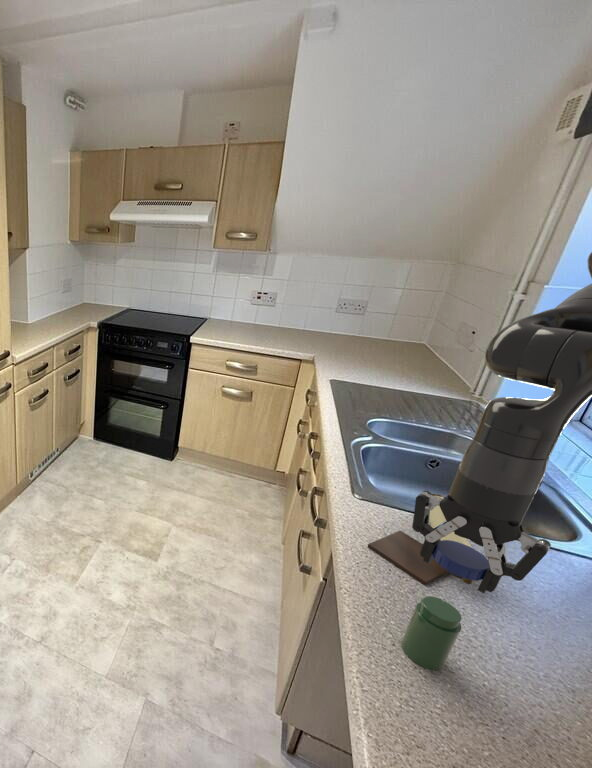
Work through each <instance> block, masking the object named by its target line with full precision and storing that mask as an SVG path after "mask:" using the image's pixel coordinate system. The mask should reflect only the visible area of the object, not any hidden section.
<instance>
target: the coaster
mask: <svg viewBox="0 0 592 768" xmlns="http://www.w3.org/2000/svg"><path fill="white" fill-rule="evenodd" d="M422 546H423V543H422V542H420V541H418V540H417V539H415V538H414V537H412V536H410V535H409V534H408V533H405V532H404V531H402V530H398V531H396V532H394V533H391V534H388V535H386V536H384V537H381V538H378V539H377V540H373V541H371V542H369V543H368V544H367V548H368V549H370V551H373V552H374V553H376V554H377V555H379V556H380V557H381V558H383V559H384V560H386V561H387V562H389V563H391V564H392V565H394V566H395V567H397V568H398V569H400V570H401V571H403V572H404V573H405V574H407V575H409V576H410V577H411V578H413V579H414V580H416V581H418V582H419V583H421V584H422V585H423V586H427V585H429V584H430V583H433V582H434V581H436V580H438V579H440V578H441V577H444V576H445V575H447V574H449V573H450V572H449V571H447V570H445V569H444V568H443V567H441V566H440V565H439V564H438V563H437V562H436V561H435V559H434V558H433V560H432V561H431V562H430V563H429V564H428V563H426V562H424V561H423V559H424V557H422V556H420V551H421V549H422Z"/></svg>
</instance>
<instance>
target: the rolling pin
mask: <svg viewBox="0 0 592 768" xmlns="http://www.w3.org/2000/svg"><path fill="white" fill-rule="evenodd" d="M431 494H432V495H433V496H436V497H440V498H445V497H446V496H443V495H441V494H437V493H431ZM444 521H446V519H445V517H444V515H443V513H442V511H441V508H440V506H436V507H435V508H434V509H433V510H430V515H429V525H430V526H431V527H433V528H435V527H437V526H439V525H440V524H442V523H443V522H444ZM454 533H455V532H452V533H450V534H448V535H447V536H445V537H442V538H441V541H442V540H451V541H456V542H459V543H462V544H465V545H467V546H470V547H472V545H471V544H470V541H469V539H467V538H463V537H460V536H458V535H456V534H454ZM449 573H450V574H451V575H453V576H454V577H455V578H457V579H462V581H463V583H465V584H466V585H471V584H472V583H473V580H469V579H465V578H462V577H459V576H457V575H455V574H452V573H451V572H449Z"/></svg>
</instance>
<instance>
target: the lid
mask: <svg viewBox="0 0 592 768" xmlns="http://www.w3.org/2000/svg"><path fill="white" fill-rule="evenodd" d="M433 558H434V559H435V561H436V562H437V563H438V564H439V565H440V566H441V567H443V568H444V569H445V570H447V571H449V573H450V572H451V573H452V574H451V573H450V574H451V575H453V574H455V575H457V576H459V577H462V578H465V579H469V580H472V581H482V579H483V577H484V575H485V573H486V571H487V569H488V568H490V566H489V561H488V558H487V557H486V555H485V554H483V553H481V552H480V551H479V550H477V549H476V548H473V546H471V547H470V546H467V545H465V544H462V543H459V542H456V541H451V540H442V541H439V542H438V543H437V545H436V547H435V550H434V552H433Z"/></svg>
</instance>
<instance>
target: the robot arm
mask: <svg viewBox="0 0 592 768" xmlns="http://www.w3.org/2000/svg"><path fill="white" fill-rule="evenodd" d="M587 270H588V273H589V276H590V278H591V279H592V251H591V252H590V253H589V255H588V258H587ZM484 361H485V365H486V367H487V368H488V369H489V371H491V372H492V373H493V374H494V375H496V376H498V377H501V378H502V379H503V378H504V379H508V380H511V381H515V382H519V383H525V384H528V385H533V386H537V387H542V388H546V389H550V390H553V391H552V394H550V396H549V397H547V398H544V399H535V398H533V399H531V398H521V397H510V396H509V397H508V396H507V397H506V396H502V397H496V398H493V399H491V400H490V401H488V402H487V404H486V405H485V408H484V410H483V412H482V414H481V417H480V419H479V422H478V425H477V427H476V430H475V433H474V434H473V437H472V440H471V441H470V442H469V444H468V445H467V447H466V449H465V451H464V453H463V455H462V458H461V461H460V463H459V466H458V469H457V471H456V473H455V476H454V478H453V482H452V484H451V487H450V489H449V492H448V493H447V495H446V496H444V497H445V498H440V497H436V496H433V495H432V494H433V493H432V492H431V491H429V490H423V491H422V492H421V493H419V494H418V495H417V496H416V497H415V502H414V511H413V519H412V525H411V527H412V529H413V531H414V532H416V533H420V534H421V535H422V536H423V537H424V541H423V543H422V544H423V546H422V549H421V551H420V556H422V557H424V559H423V561H424V562H426V563H428V564H429V563H430V562H431V561H432V560H433V552H434V550H435V547H436V545H437V543H438V542H439V541H441V538H442V537H445V536H447V535H448V534H450V533H452V532H455V533H454V534H456V535H458V536H460V537H463V538H467V540H468V541H469V540H470V541H471V542H472V543H474V544H475V545H477V546H479V547H481V548H482V547H483V551H484V556H485V557H486V558H487V559H488V561H489V566H490V568H488V569H487V571H486V573H485V575H484V577H483V579H482V580H480V581H481V582H480V583H479V586H478V588H477V591H479V592H481V593H483V594H485V593H486V592H489V593H493V592H494V591H495V590H496V589H497V587H498V585H499V583H500V581H501V579H502V577H504V576H505V577H511V579H513V580H515V581H517V582H518V581H519V582H520V581H523V580H524V579H525V578H526V577H527V576H528V574H530V573H531V571H533V569H534V568H535V567H536V566H537V565H538V564H539V563H540V562H541V560H543V558H545V556H546V555H547V553H549V550H550V548H551V547H552V544H551V543H550V541H549V540H547V539H544V538H539V539H537V538H536V537H534V536H532V535H530V534H528V533H526V532H525V531H524V527H523V521H524V518H525V516H526V514H527V512H528V510H529V508H530V506H531V504H532V502H533V500H534V497H535V496H536V494H537V491H538V490H539V488H540V487H541V486H542V485H543V479H544V477H545V474H546V471H547V467H548V463H549V460H550V457H551V455H552V453H553V451H554V449H555V448H556V445H557V443H558V440H559V439H560V437H561V434H562V432H563V431H564V430H565V427H566V426H567V424H568V423H569V422H570V420H571V419H572V418H573V417H574V415H575V414H576V413H577V412H578V411H579V409H580V408H581V407H582V406H583V405H584V404H585V403H586V402H587V401H588V400H589V399H590V398H591V397H592V283H589V284H588V285H585V286H584V287H582V288H581V289H579V290H577V291H575V292H574V293H572V294H570V295H569V296H568V297H567V298H565V299H564V300H563V301H562V302H561V303H559V304H558V305H557V306H555V307H554V308H550V309H546V310H543V311H541V312H537V313H535V314H531V315H529V316H525V317H523V318H520V319H517V320H515V321H513V322H511V323H509V324H508V325H506V326H505V327H503V328H502V329H500V330H499V331H498V332H497V333H496V334H495V335H494V336H493V337H492V338H491V340H490V341H489V342H488V343H487V346H486V349H485V352H484ZM436 506H440V508H441V511H442V513H443V515H444V517H445V519H446V521H444V522H443V523H442V524H440V525H439V526H437V527H435V528H433V527H431V525H430V522H429V515H430V510H433V509H434V508H435V507H436ZM514 541H518V542H520V544H521V547H520V550H521V551H522V552H523V553H525V554H524V555H523V556H522V557H521V558H520V559H519V560H518V561H517V562H516V563H510V562H508V560H507V555H506V545H505V544H507V543H511V542H514Z"/></svg>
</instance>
